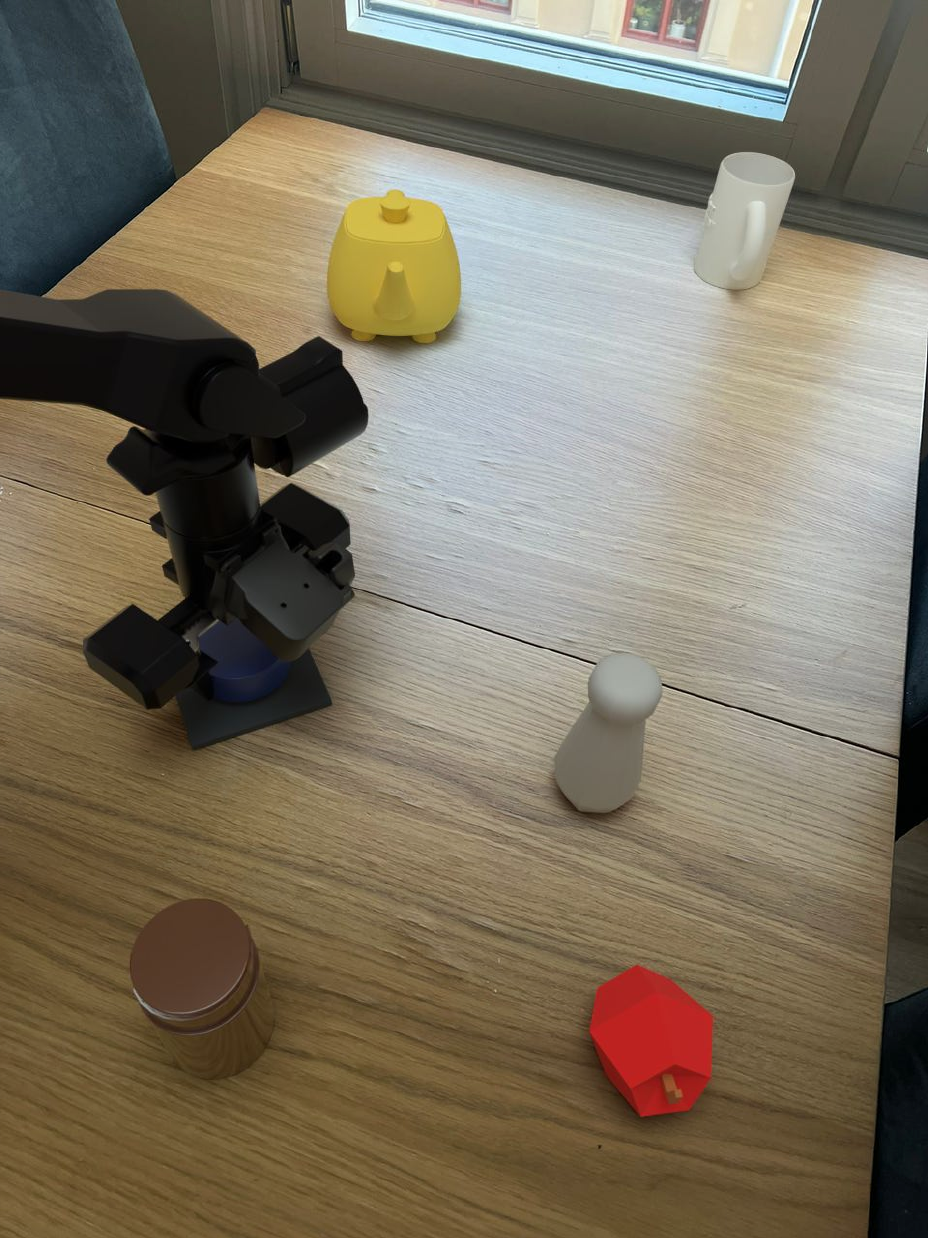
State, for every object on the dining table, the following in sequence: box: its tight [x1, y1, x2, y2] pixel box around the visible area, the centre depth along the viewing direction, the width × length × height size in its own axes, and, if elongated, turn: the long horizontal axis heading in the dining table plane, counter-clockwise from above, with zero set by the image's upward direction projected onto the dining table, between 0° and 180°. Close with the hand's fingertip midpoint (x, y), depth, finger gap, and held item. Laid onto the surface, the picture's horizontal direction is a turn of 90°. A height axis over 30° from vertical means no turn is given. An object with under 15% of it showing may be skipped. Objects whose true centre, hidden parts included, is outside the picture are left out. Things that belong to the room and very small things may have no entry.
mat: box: [175, 647, 333, 751], centre depth 68 cm, size 10×10×1 cm
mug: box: [693, 151, 796, 291], centre depth 103 cm, size 8×12×12 cm
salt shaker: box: [553, 652, 663, 814], centre depth 59 cm, size 6×6×13 cm
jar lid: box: [199, 618, 291, 702], centre depth 66 cm, size 7×7×3 cm
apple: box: [588, 964, 714, 1118], centre depth 50 cm, size 7×7×8 cm
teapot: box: [326, 189, 462, 344], centre depth 93 cm, size 14×20×13 cm
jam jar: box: [129, 897, 275, 1080], centre depth 48 cm, size 6×6×10 cm
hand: (241, 664), depth 67 cm, fingers closed on jar lid, 7 cm apart
